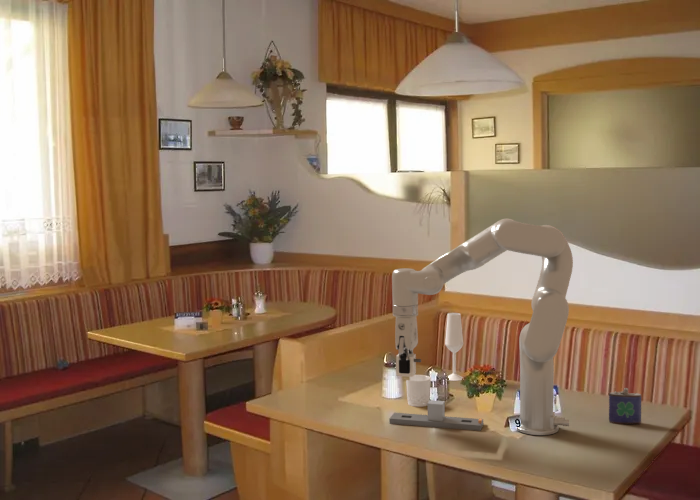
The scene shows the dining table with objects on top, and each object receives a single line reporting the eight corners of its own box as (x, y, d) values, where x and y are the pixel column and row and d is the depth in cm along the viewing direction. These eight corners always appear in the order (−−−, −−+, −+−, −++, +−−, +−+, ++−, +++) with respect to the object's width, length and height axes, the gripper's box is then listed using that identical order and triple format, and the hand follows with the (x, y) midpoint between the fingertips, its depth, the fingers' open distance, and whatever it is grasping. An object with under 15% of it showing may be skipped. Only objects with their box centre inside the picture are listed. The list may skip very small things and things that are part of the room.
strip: (483, 429, 233) (483, 416, 232) (480, 435, 227) (480, 422, 227) (394, 422, 241) (394, 410, 240) (389, 428, 235) (389, 415, 235)
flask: (640, 422, 237) (641, 387, 236) (642, 425, 234) (642, 390, 233) (608, 420, 239) (608, 386, 238) (609, 423, 236) (609, 388, 235)
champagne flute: (452, 381, 286) (452, 316, 284) (441, 377, 292) (441, 313, 289) (467, 379, 289) (467, 314, 287) (456, 375, 295) (456, 311, 293)
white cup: (429, 412, 250) (429, 381, 249) (404, 411, 252) (404, 380, 251) (431, 405, 258) (431, 375, 257) (407, 404, 260) (407, 374, 259)
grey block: (444, 422, 235) (444, 401, 234) (442, 426, 231) (442, 404, 231) (430, 421, 236) (429, 400, 236) (427, 425, 233) (427, 403, 232)
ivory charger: (422, 378, 236) (422, 354, 235) (419, 382, 232) (419, 357, 231) (399, 377, 238) (399, 353, 237) (396, 380, 234) (396, 356, 233)
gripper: (411, 315, 224) (412, 379, 226) (423, 306, 240) (424, 365, 242) (385, 315, 226) (387, 377, 228) (399, 305, 242) (400, 363, 244)
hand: (406, 370), depth 235 cm, fingers closed on ivory charger, 4 cm apart
